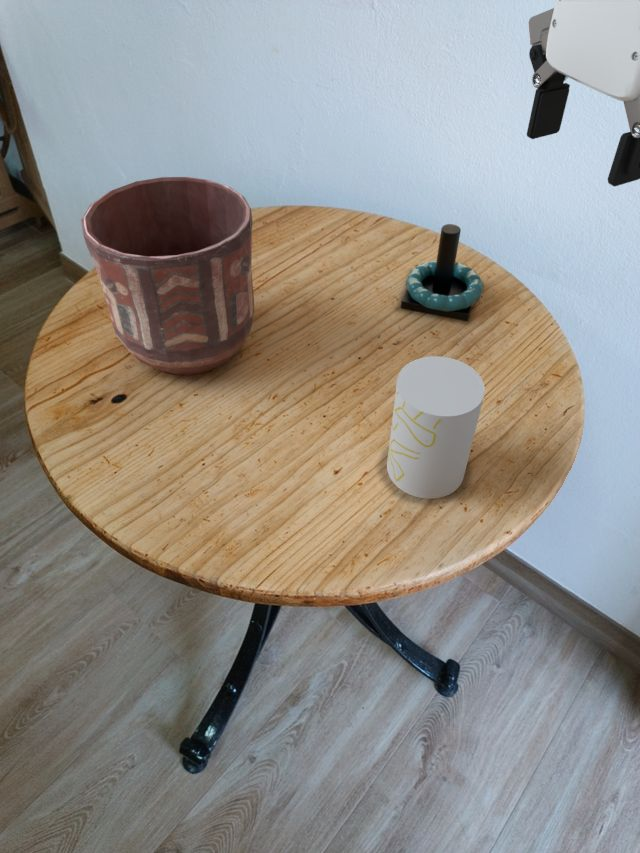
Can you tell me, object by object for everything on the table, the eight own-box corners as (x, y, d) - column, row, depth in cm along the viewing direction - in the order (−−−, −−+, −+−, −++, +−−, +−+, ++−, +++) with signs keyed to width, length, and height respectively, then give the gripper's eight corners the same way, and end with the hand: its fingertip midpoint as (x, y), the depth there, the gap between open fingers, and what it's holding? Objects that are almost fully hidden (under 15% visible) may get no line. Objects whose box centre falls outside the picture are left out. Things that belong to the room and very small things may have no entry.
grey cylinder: (375, 449, 74) (383, 366, 66) (443, 432, 76) (460, 349, 67) (404, 507, 69) (418, 424, 60) (477, 487, 71) (500, 405, 62)
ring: (485, 277, 95) (488, 264, 93) (475, 320, 88) (477, 307, 87) (414, 264, 97) (415, 252, 95) (398, 306, 90) (400, 293, 89)
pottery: (200, 285, 95) (181, 159, 82) (288, 343, 87) (283, 212, 73) (89, 344, 86) (49, 213, 73) (175, 415, 78) (147, 281, 65)
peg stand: (478, 283, 96) (492, 217, 88) (467, 321, 90) (481, 253, 82) (415, 271, 98) (423, 205, 90) (400, 308, 92) (408, 241, 84)
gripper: (809, -81, 41) (696, 191, 53) (600, -123, 51) (547, 112, 64) (720, -68, 38) (623, 214, 51) (520, -115, 49) (481, 127, 61)
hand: (581, 157), depth 57 cm, fingers open, 9 cm apart
